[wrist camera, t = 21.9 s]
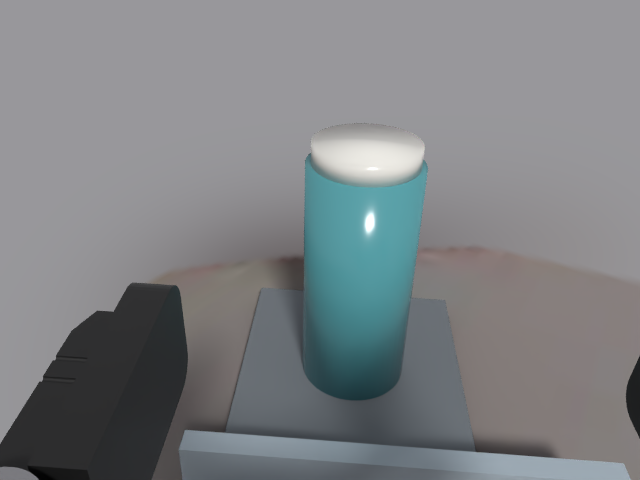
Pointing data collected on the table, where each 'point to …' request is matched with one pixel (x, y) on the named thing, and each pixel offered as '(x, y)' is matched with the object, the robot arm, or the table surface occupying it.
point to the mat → (351, 415)
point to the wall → (366, 461)
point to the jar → (360, 256)
